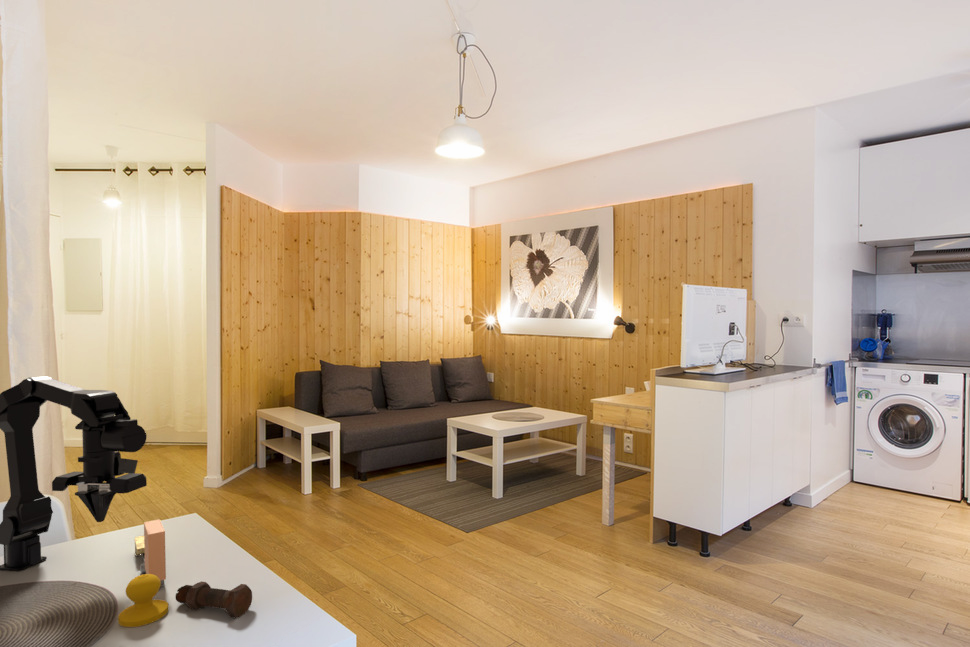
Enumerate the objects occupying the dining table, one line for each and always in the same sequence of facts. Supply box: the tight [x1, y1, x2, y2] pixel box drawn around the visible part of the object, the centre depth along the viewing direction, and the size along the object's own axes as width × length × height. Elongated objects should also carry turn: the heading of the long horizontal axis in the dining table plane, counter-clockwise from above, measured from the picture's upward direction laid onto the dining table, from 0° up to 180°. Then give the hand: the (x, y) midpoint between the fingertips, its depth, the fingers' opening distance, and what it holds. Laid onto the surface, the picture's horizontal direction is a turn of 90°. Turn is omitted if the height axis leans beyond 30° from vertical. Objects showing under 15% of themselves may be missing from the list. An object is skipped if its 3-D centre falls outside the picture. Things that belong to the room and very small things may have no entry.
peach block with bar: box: [139, 518, 167, 588], centre depth 122 cm, size 4×22×11 cm, turn 36°
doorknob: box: [117, 573, 170, 628], centre depth 103 cm, size 8×8×8 cm
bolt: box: [175, 581, 253, 619], centre depth 106 cm, size 6×5×15 cm
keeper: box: [134, 534, 145, 556], centre depth 131 cm, size 9×5×4 cm, turn 35°
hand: (100, 521), depth 120 cm, fingers closed
